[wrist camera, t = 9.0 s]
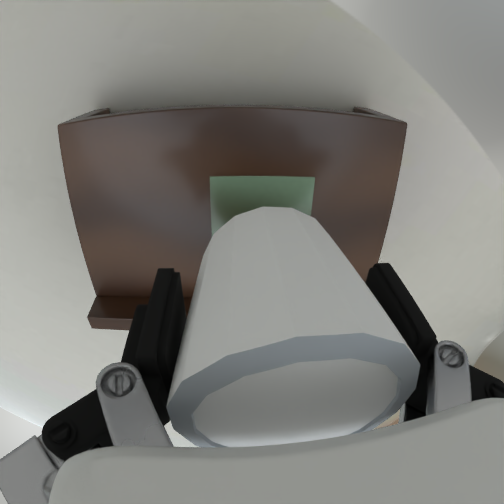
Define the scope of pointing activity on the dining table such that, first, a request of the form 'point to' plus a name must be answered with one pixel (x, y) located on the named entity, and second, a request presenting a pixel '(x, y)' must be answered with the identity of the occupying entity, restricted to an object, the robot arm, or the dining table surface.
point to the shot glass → (284, 340)
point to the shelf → (218, 186)
